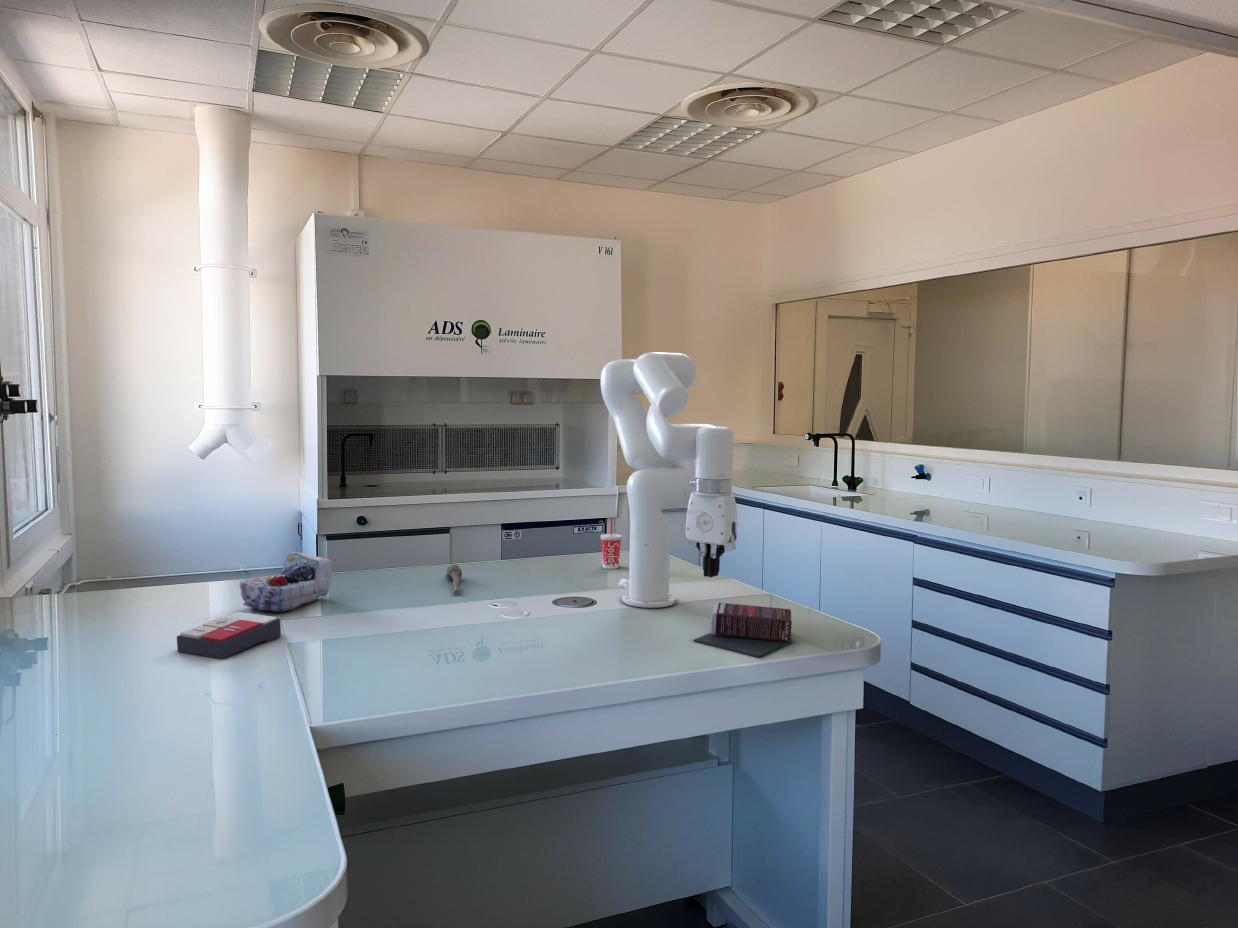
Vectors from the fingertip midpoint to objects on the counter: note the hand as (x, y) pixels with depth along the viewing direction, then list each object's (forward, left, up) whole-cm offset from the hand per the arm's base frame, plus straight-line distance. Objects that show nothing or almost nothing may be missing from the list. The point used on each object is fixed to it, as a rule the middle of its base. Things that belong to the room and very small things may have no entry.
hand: (711, 575), depth 172 cm
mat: (+8, 0, -12) cm, 15 cm away
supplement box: (0, +1, -9) cm, 9 cm away
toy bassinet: (-83, -47, -13) cm, 96 cm away
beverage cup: (-56, +35, -13) cm, 67 cm away
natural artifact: (-71, -9, -13) cm, 73 cm away
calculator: (-64, -69, -13) cm, 95 cm away
